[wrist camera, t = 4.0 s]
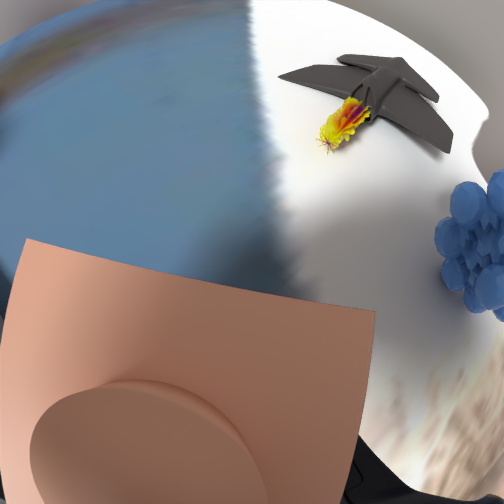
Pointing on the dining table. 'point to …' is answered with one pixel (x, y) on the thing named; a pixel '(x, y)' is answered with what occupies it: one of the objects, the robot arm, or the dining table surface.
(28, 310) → the tall brick
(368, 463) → the robot arm
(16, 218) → the dining table surface
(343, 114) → the toy plane
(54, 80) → the dining table surface
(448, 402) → the dining table surface
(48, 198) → the dining table surface
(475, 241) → the blue knobby flower
